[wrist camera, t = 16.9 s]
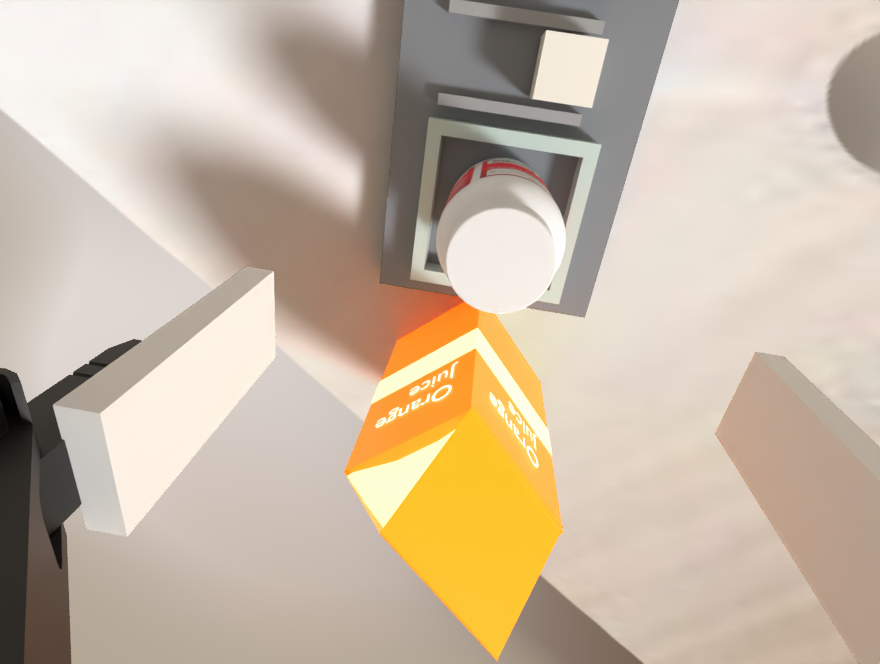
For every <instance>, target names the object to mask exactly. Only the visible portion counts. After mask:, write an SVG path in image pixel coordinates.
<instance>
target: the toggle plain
mask: <svg viewBox="0 0 880 664" xmlns="http://www.w3.org/2000/svg"><path fill="white" fill-rule="evenodd" d="M608 42H609V39H603V38H597V37H590V36H583V35H576V34H570V33H563V32H556V31H550V30H546V31H545V32H544V34H543V35H542V36H541V41H540V46H539V51H538V56H537V61H536V66H535V71H534V76H533V81H532V86H531V92H530V97H529V98H530V99H536V100H542V101H549V102H555V103H562V104H568V105H575V106H581V107H588V108H592V106H593V102H594V98H595V94H596V90H597V86H598V82H599V78H600V74H601V70H602V66H603V62H604V58H605V54H606V50H607V46H608Z"/></svg>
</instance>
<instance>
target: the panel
mask: <svg viewBox="0 0 880 664" xmlns="http://www.w3.org/2000/svg"><path fill="white" fill-rule="evenodd" d="M678 2H679V0H404V11H403V23H402V34H401V45H400V57H399V68H398V80H397V91H396V103H395V114H394V125H393V137H392V148H391V160H390V171H389V183H388V194H387V205H386V217H385V228H384V240H383V251H382V263H381V274H380V283H382V284H388V285H394V286H400V287H406V288H412V289H418V290H424V291H430V292H436V293H442V294H448V295H454V296H458V294H457V293H456V292H455V291H454V289H453V288H452V286H451V284H450V282H449V279H448V277H447V276H446V274H445V273H444V271H443V269H442V267H441V264H440V262H439V258H438V255H437V249H436V234H437V228H438V224H439V221H440V218H441V215H442V212H443V210H444V207H445V205H446V203H447V200H448V198H449V196H450V193H451V191H452V189H453V187H454V185H455V183H456V182H457V181H458V179H459V178H460V177H461V176H462V174H463V173H464V172H465V171H467V170H468V169H469V168H470V167H472V166H473V165H475V164H477V163H479V162H481V161H484V160H487V159H491V158H510V159H514V160H517V161H520V162H522V163H524V164H526V165H527V166H529V167H530V168H532V169H533V170H534V171H535V172H536V173H537V174H538V175H539V176H540V178H541V179H542V181H543V182H544V184H545V185H546V187H547V189H548V190H549V192H550V194H551V196H552V197H553V199H554V201H555V203H556V204H557V206H558V208H559V210H560V212H561V215H562V218H563V221H564V225H565V231H566V245H565V251H564V255H563V258H562V261H561V264H560V266H559V268H558V270H557V271H556V273H555V274H554V277H553V279H552V281H551V283H550V285H549V287H548V288H547V290H546V291H545V292H544V294H543V295H542V296H541V297H540V298H539V299H538V300H536V301H535V302H534V303H532V304H531V305H529V306H527V307H526V308H531V309H537V310H543V311H549V312H555V313H561V314H567V315H573V316H579V317H585V315H586V312H587V308H588V305H589V302H590V298H591V295H592V291H593V288H594V285H595V281H596V278H597V275H598V271H599V268H600V265H601V261H602V258H603V254H604V251H605V248H606V244H607V241H608V238H609V234H610V231H611V228H612V224H613V221H614V217H615V214H616V211H617V207H618V204H619V201H620V197H621V194H622V191H623V187H624V184H625V180H626V177H627V174H628V170H629V167H630V164H631V160H632V157H633V154H634V150H635V147H636V143H637V140H638V137H639V133H640V130H641V127H642V123H643V120H644V117H645V113H646V110H647V106H648V103H649V100H650V96H651V93H652V90H653V86H654V83H655V80H656V76H657V73H658V69H659V66H660V63H661V59H662V56H663V53H664V49H665V46H666V43H667V39H668V36H669V32H670V29H671V26H672V22H673V19H674V16H675V12H676V9H677V6H678ZM546 30H550V31H556V32H563V33H570V34H576V35H583V36H590V37H597V38H603V39H609V42H608V46H607V50H606V54H605V58H604V62H603V66H602V70H601V74H600V78H599V82H598V86H597V90H596V94H595V98H594V102H593V106H592V108H588V107H581V106H575V105H568V104H562V103H555V102H549V101H542V100H536V99H530V98H529V97H530V92H531V86H532V81H533V76H534V71H535V66H536V61H537V56H538V51H539V46H540V41H541V36H542V35H543V34H544V32H545V31H546Z"/></svg>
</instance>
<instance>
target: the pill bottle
mask: <svg viewBox="0 0 880 664" xmlns="http://www.w3.org/2000/svg"><path fill="white" fill-rule="evenodd" d="M565 245H566V231H565V225H564V221H563V218H562V215H561V212H560V210H559V208H558V206H557V204H556V203H555V201H554V199H553V197H552V196H551V194H550V192H549V190H548V189H547V187H546V185H545V184H544V182H543V181H542V179H541V178H540V176H539V175H538V174H537V173H536V172H535V171H534V170H533V169H532V168H530V167H529V166H527V165H526V164H524V163H522V162H520V161H517V160H514V159H510V158H491V159H487V160H484V161H481V162H479V163H477V164H475V165H473V166H472V167H470V168H469V169H468V170H467V171H465V172H464V173H463V174H462V176H461V177H460V178H459V179H458V181H457V182H456V183H455V185H454V187H453V189H452V191H451V193H450V196H449V198H448V200H447V203H446V205H445V207H444V210H443V212H442V215H441V218H440V221H439V224H438V228H437V234H436V249H437V255H438V258H439V262H440V264H441V267H442V269H443V271H444V273H445V274H446V276H447V277H448V279H449V282H450V284H451V286H452V288H453V289H454V291H455V292H456V293H457V294H458V296H459V297H460V298H461V299H462V300H463V301H465V302H466V303H467V304H469V305H470V306H472V307H474V308H476V309H478V310H481V311H484V312H488V313H495V314H504V313H511V312H516V311H519V310H521V309H523V308H526V307H527V306H529V305H531V304H532V303H534V302H535V301H536V300H538V299H539V298H540V297H541V296H542V295H543V294H544V292H545V291H546V290H547V288H548V287H549V285H550V283H551V281H552V279H553V277H554V274H555V273H556V271H557V270H558V268H559V266H560V264H561V261H562V258H563V255H564V251H565Z"/></svg>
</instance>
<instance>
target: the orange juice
mask: <svg viewBox="0 0 880 664" xmlns="http://www.w3.org/2000/svg"><path fill="white" fill-rule="evenodd" d="M551 456H552V451H551V445H550V438H549V432H548V429H547V423H546V417H545V410H544V403H543V396H542V390H541V383H540V381H539V379H538V378H537V376H536V375H535V373H534V372H533V370H532V369H531V367H530V366H529V364H528V363H527V361H526V360H525V358H524V357H523V355H522V354H521V352H520V351H519V349H518V348H517V346H516V345H515V343H514V342H513V340H512V339H511V337H510V336H509V334H508V333H507V331H506V330H505V328H504V327H503V325H502V324H501V322H500V321H499V319H498V318H497V316H496V315H495V313H488V312H484V311H481V310H478V309H476V308H474V307H472V306H470V305H469V304H467V303H466V302H463V303H461V304H459V305H458V306H456V307H454V308H452V309H451V310H449V311H447V312H446V313H444V314H442V315H440V316H439V317H437V318H435V319H433V320H432V321H430V322H428V323H426V324H425V325H423V326H421V327H420V328H418V329H416V330H414V331H413V332H411V333H409V334H407V335H406V336H404V337H402V338H400V339H399V340H397V342H396V345H395V347H394V350H393V352H392V354H391V357H390V359H389V362H388V364H387V367H386V369H385V372H384V374H383V377H382V379H381V381H380V382H379V384H378V387H377V389H376V392H375V394H374V397H373V399H372V402H371V407H370V409H369V412H368V414H367V417H366V419H365V422H364V424H363V427H362V429H361V432H360V434H359V437H358V439H357V442H356V444H355V446H354V449H353V451H352V454H351V456H350V459H349V462H348V464H347V466H346V469H345V471H344V473H345V474H346V476H347V478H348V480H349V481H350V483H351V485H352V486H353V488H354V490H355V492H356V493H357V495H358V497H359V498H360V500H361V502H362V504H363V505H364V507H365V509H366V510H367V512H368V514H369V515H370V517H371V519H372V521H373V522H374V524H375V526H376V528H377V529H378V531H379V533H380V534H381V536H382V537H383V538H384V539H385V540H386V541H387V542H388V543H389V544H390V545H391V546H392V548H393V549H394V550H395V551H396V552H397V553H398V554H399V555H400V556H401V557H402V558H403V559H404V560H405V562H406V563H407V564H408V565H409V566H410V567H411V568H412V569H413V570H414V571H415V572H416V574H417V575H418V576H419V577H420V578H421V579H422V580H423V581H424V582H425V583H426V584H427V585H428V586H429V588H430V589H431V590H432V591H433V592H434V593H435V594H436V595H437V596H438V597H439V598H440V600H441V601H442V602H443V603H444V604H445V605H446V606H447V607H448V608H449V609H450V610H451V611H452V613H453V614H455V616H456V617H457V618H458V619H459V620H460V621H461V622H462V623H463V624H464V626H465V627H466V628H467V629H468V630H469V631H470V632H471V633H472V634H473V635H474V636H475V637H476V638H477V639H478V641H479V642H480V643H481V644H482V645H483V646H484V647H485V648H486V649H487V650H488V652H489V653H490V654H491V655H492V656H493V657H494V658H495V659H496V660H497V659H498V657H499V655H500V653H501V651H502V649H503V647H504V645H505V643H506V641H507V639H508V636H509V635H510V633H511V631H512V629H513V627H514V625H515V623H516V621H517V619H518V617H519V615H520V613H521V611H522V609H523V607H524V605H525V603H526V601H527V599H528V597H529V594H530V593H531V591H532V589H533V587H534V585H535V583H536V581H537V578H538V577H539V575H540V573H541V571H542V569H543V567H544V565H545V562H546V560H547V558H548V556H549V554H550V552H551V550H552V548H553V546H554V544H555V542H556V540H557V538H558V536H559V535H560V534H563V531H562V528H563V527H562V524H561V518H560V511H559V504H558V497H557V491H556V484H555V477H554V470H553V464H552V457H551Z"/></svg>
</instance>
